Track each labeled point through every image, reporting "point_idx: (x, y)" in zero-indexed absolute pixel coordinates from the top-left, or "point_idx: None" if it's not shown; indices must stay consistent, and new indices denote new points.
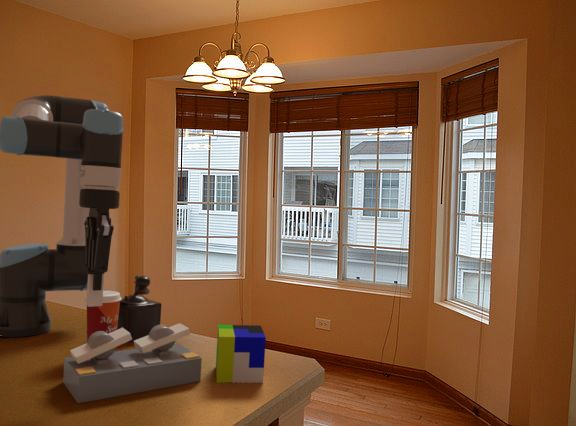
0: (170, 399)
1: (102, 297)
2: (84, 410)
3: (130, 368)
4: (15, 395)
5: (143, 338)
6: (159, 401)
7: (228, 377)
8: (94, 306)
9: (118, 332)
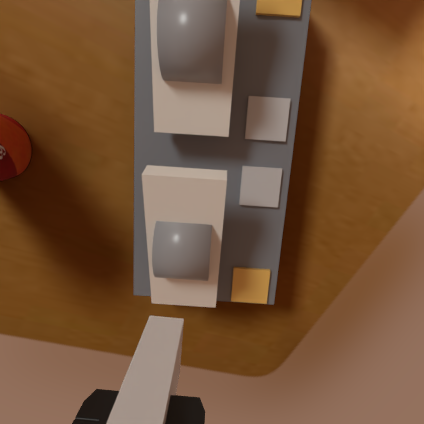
0: (349, 122)
1: (178, 345)
2: (299, 278)
3: (283, 192)
4: None
5: (164, 101)
6: (344, 147)
7: None
8: None
9: (173, 198)
